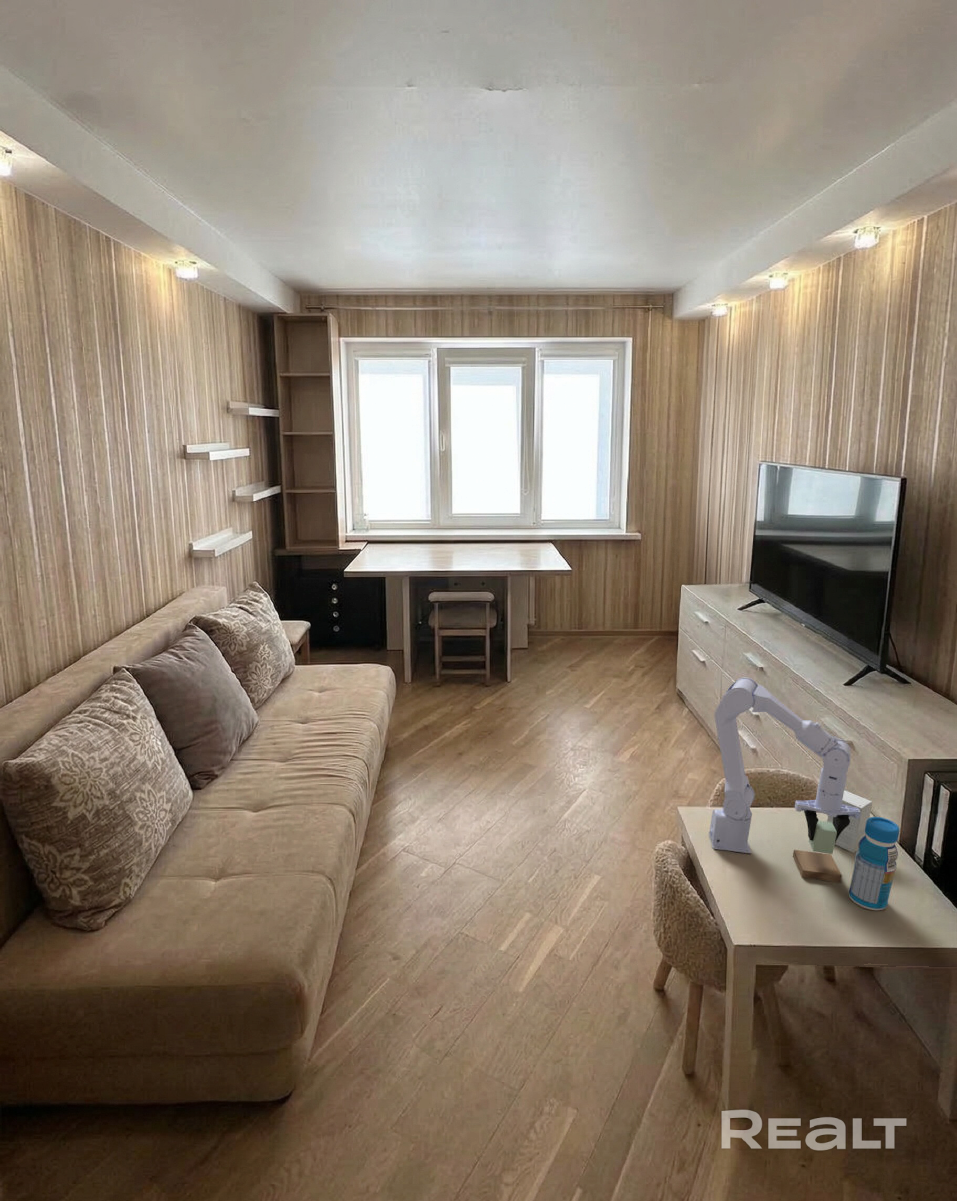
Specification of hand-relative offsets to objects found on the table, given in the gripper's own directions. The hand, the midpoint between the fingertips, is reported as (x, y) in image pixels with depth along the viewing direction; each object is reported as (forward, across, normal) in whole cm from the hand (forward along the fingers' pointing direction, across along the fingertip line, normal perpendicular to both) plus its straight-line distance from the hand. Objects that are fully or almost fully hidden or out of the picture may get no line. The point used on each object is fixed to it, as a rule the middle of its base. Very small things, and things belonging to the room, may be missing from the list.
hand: (821, 839), depth 187 cm
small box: (+8, +11, +15) cm, 20 cm away
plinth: (+8, 0, 0) cm, 8 cm away
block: (+2, 0, 0) cm, 2 cm away
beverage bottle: (+8, +9, -11) cm, 16 cm away
